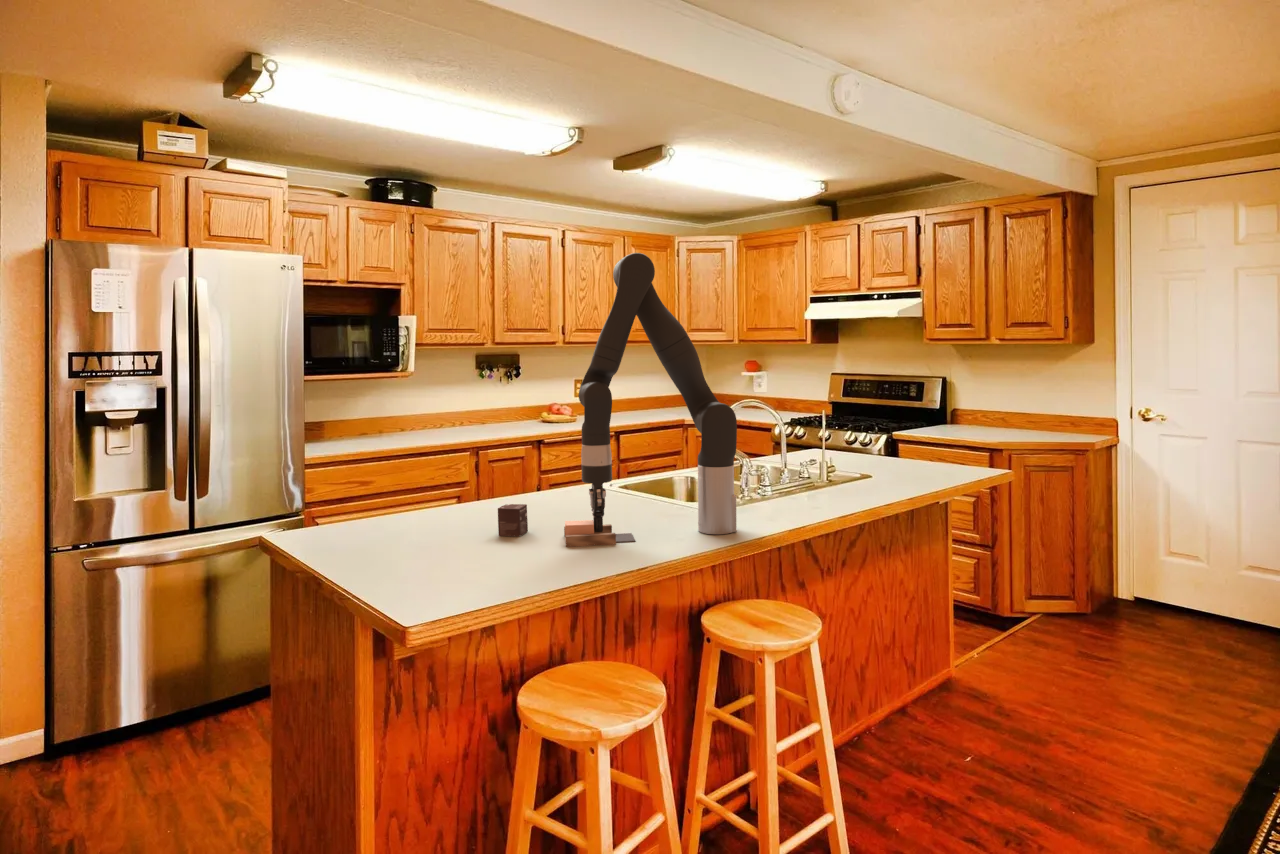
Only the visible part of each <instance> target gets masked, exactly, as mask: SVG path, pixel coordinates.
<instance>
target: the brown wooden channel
mask: <svg viewBox="0 0 1280 854" xmlns="http://www.w3.org/2000/svg"><path fill="white" fill-rule="evenodd" d="M563 528H564V529H563V531H564V535H563V536H564V537H565V525H564V526H563ZM612 528H613V527H612V524H610V523H609V524H603V531H602V532H594V534H579V535H566V539H565V547H566V548H567V547H568V548H569V547H572V548H573V547H589V546H591V547H593V546H608V545H609V546H610V545H616V544H617V543H616V534H617V533H616V532H613V529H612Z"/></svg>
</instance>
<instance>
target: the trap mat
mask: <svg viewBox="0 0 1280 854" xmlns="http://www.w3.org/2000/svg"><path fill="white" fill-rule="evenodd" d="M615 534H616V544H618V543H619V544H620V543H635V542H636V539H635V537H634V535H633V534H632V532H630V533H629V532H627V533H626V532H625V533H615Z"/></svg>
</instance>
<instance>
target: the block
mask: <svg viewBox="0 0 1280 854" xmlns="http://www.w3.org/2000/svg"><path fill="white" fill-rule="evenodd" d="M564 522H565V523H564V526H565V536H564V540H566V535H579V534H594V522H593V520H592V519H588V520H586V519H585V520H584V519H583V520H565V521H564Z"/></svg>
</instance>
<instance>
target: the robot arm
mask: <svg viewBox="0 0 1280 854" xmlns="http://www.w3.org/2000/svg"><path fill="white" fill-rule="evenodd" d="M655 270H656V269H655V265H654V263H653V260H652V259H651V258H650V257H649V256H648V255H647V254H644V253H641V252H632V253H630V254H627V255H626V256H624V257H622V258H621V259H620V260H619V261H617V263H616V264H615V266H614V267H613V270H612V271H613V272H612V273H613V274H612V275H613V277H612V278H613V281H614V282H613V283H615V286H616V292H615V297H614V301H613V303H612V306H611V308H610V309H611V310H610V312H609V314H608V316H607V318H606V321H605V322H604V324H603V327H602V329H601V331H600V333H599V336H598V338H597V342H596V344H595V348H594V351H593V355H592V358H591V361H590V364H589V366H588V368H587V371H585V372H586V373H585V374H584V377H583V378H582V382H581V384H580V386H579V391H578V400H579V402H580V404H581V405H582V406H583V411H584V413H583V414H584V417H583V418H584V421H583V423H582V426H581V451H580V452H581V453H580V458H581V460H580V461H581V463H580V465H581V481H582V482H583V483H585V484H591V488H590V487H589V488H588V495H589V503H590V508H591V514H592V515H591V516H592V518H593V522H594V532H602V531H603V525H604V516H605V508H606V497H607V490H606V487H604V485H603V484H605V483H607V484H608V483H610V482H612V480H613V459H612V456H613V454H612V448H611V447H612V446H611V428H610V427H611V418H612V409H613V397H612V396H613V395H612V392H611V388H610V385H611V382H612V379H613V378H614V376H615V375H617V372H618V371H619V370H620V369H619V368H620V365H621V363H622V360H623V356H624V354H625V350H626V347H627V345H628V341H629V337H630V334H631V331H632V327H633V325H634V322H635V319H636V317H637V319H638V321H639V322H640V324H641V327H642V329H643V331H644V333H645V335H646V337H647V338H648V340H649V342H650V344H651V347H652V348H653V350H654V352H655V354H656V356H657V357H658V360H659V361H660V363H661V365H662V366H663V368H664V370H665V371H666V373H667V375H668V376H669V377H670V379H671V381H672V382H673V384H674V386H675V387H676V389H677V390H678V391H679V393H680V394H681V396H682V398H683V400H684V403H685V405H686V407H687V409H688V413H689V415H690V417H691V419H692V421H693V423H694V426H695V428H696V429H697V431H698V432H699V433H700V434H701V436H700V437H701V443H700V444H701V446H700V451H699V453H698V454H697V496H698V497H697V505H698V506H697V510H698V511H697V512H698V513H697V514H698V515H697V516H698V517H697V518H698V522H697V524H698V525H697V526H698V532H700V533H702V534H706V535H707V534H708V535H727V534H731V533H738V532H737V531H738V530H737V495H736V494H735V458H736V457H735V456H736V454H737V443H738V441H737V439H738V438H737V437H738V422H737V416H736V413H735V411H734V410H733V408H732V407H731V406H729V404H726V403H721V402H720V401H719V400H718V399H717V397H716V396H715V394H714V393H713V391H712V390H711V388H710V386H709V385H708V382H707V380H706V379H705V376H704V375H705V374H704V372H703V368H702V365H701V360H700V357H699V354H698V351H697V349H696V347H695V345H694V343H693V341H692V340H691V338H690V336H689V335H688V333H687V331H686V329H685V328H684V327H683V325H682V324H681V322H680V321H679V320H678V319H677V318H676V317H675V315H673V314H672V312H671V311H670V310H669V309H668V308H667V307H666V305H664V303H663V301H662V300H661V298H660V297H659V295H658V293H657V291H656V289H655V286H654V284H653V281H654V279H655V276H656V275H655V274H656V271H655Z"/></svg>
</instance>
